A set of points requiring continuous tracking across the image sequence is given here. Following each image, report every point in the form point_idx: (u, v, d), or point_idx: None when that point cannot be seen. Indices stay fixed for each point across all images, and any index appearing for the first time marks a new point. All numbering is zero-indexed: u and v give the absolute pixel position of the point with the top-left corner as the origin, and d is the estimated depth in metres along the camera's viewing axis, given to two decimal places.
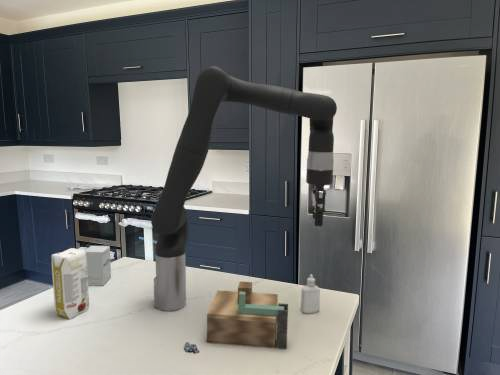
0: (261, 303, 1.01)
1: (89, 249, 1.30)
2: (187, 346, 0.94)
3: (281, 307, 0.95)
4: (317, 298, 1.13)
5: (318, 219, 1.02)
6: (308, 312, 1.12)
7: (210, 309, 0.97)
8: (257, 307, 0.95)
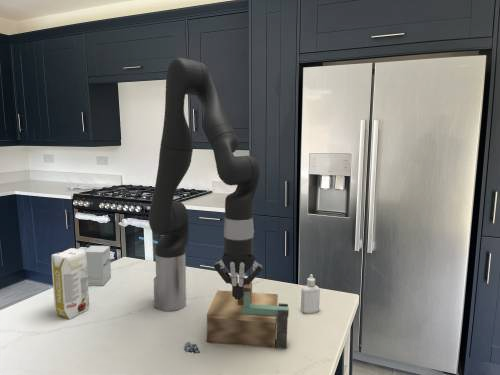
0: (261, 303, 1.01)
1: (89, 249, 1.30)
2: (188, 346, 0.94)
3: (286, 307, 0.95)
4: (317, 298, 1.13)
5: (243, 291, 0.95)
6: (308, 312, 1.12)
7: (210, 309, 0.97)
8: (262, 307, 0.95)
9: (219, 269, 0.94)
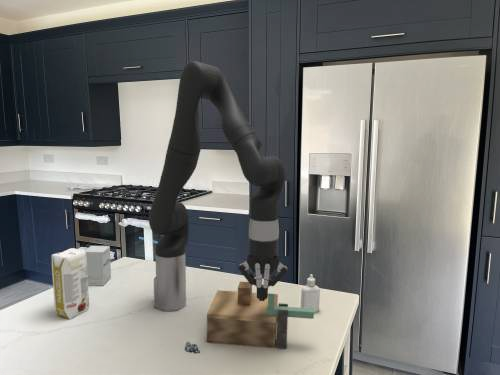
0: (261, 303, 1.01)
1: (89, 249, 1.30)
2: (188, 346, 0.94)
3: (310, 309, 0.94)
4: (317, 298, 1.13)
5: (267, 292, 0.94)
6: None
7: (210, 309, 0.97)
8: (286, 309, 0.94)
9: (244, 270, 0.93)
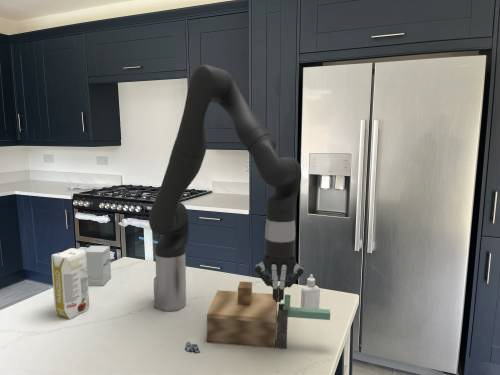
0: (261, 303, 1.01)
1: (89, 249, 1.30)
2: (188, 346, 0.94)
3: (327, 310, 0.94)
4: (317, 298, 1.13)
5: (283, 293, 0.94)
6: None
7: (210, 309, 0.97)
8: (303, 310, 0.94)
9: (260, 271, 0.93)
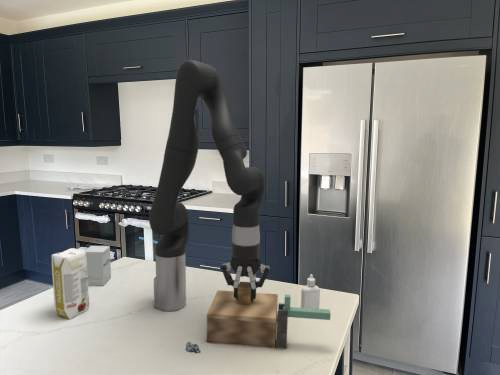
0: (261, 303, 1.01)
1: (89, 249, 1.30)
2: (189, 346, 0.94)
3: (327, 310, 0.94)
4: (317, 298, 1.13)
5: (255, 293, 1.01)
6: None
7: (210, 309, 0.97)
8: (303, 310, 0.94)
9: (225, 271, 1.00)
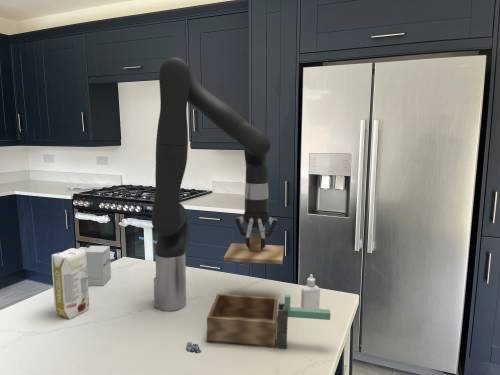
0: (269, 251, 1.18)
1: (89, 249, 1.30)
2: (189, 346, 0.94)
3: (327, 310, 0.94)
4: (317, 298, 1.13)
5: None
6: None
7: (226, 254, 1.14)
8: (303, 310, 0.94)
9: (239, 223, 1.17)
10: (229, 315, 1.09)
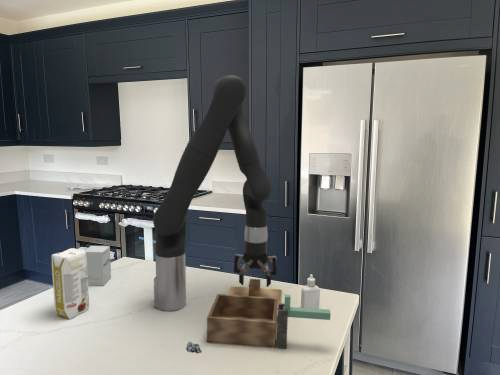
0: (268, 296, 1.22)
1: (89, 249, 1.30)
2: (190, 346, 0.94)
3: (327, 310, 0.94)
4: (317, 298, 1.13)
5: (270, 280, 1.21)
6: None
7: None
8: (303, 310, 0.94)
9: (237, 260, 1.20)
10: (229, 315, 1.09)
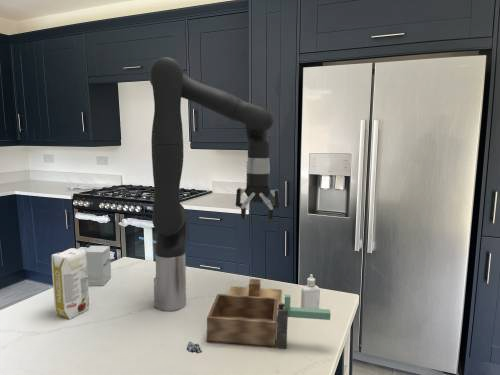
0: (268, 296, 1.22)
1: (89, 249, 1.30)
2: (190, 346, 0.94)
3: (327, 310, 0.94)
4: (317, 298, 1.13)
5: None
6: None
7: None
8: (303, 310, 0.94)
9: (239, 193, 1.20)
10: (229, 315, 1.09)
